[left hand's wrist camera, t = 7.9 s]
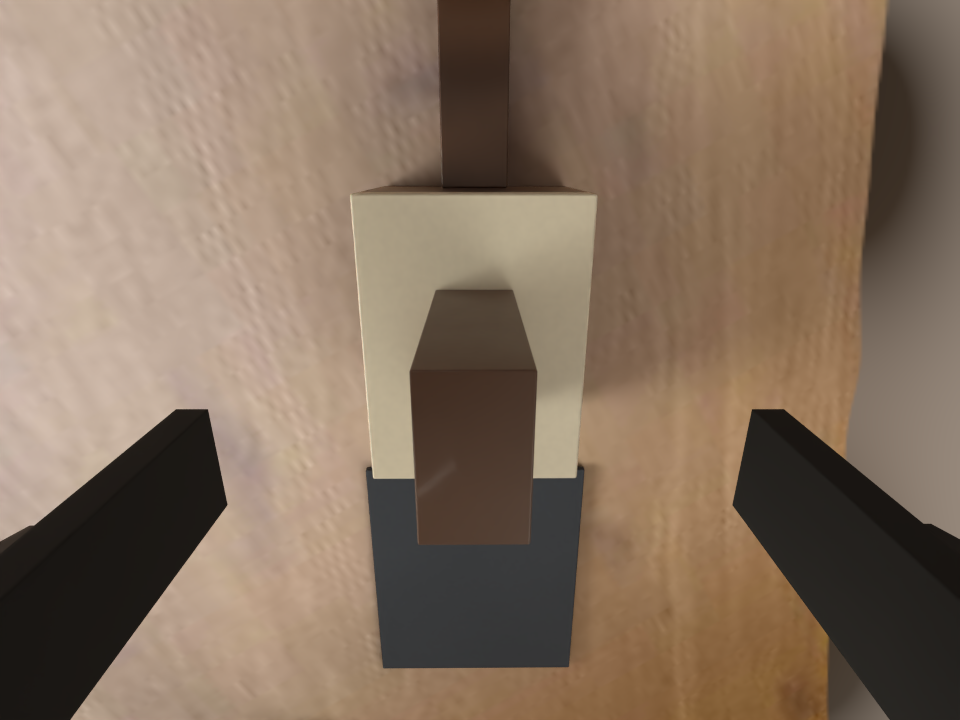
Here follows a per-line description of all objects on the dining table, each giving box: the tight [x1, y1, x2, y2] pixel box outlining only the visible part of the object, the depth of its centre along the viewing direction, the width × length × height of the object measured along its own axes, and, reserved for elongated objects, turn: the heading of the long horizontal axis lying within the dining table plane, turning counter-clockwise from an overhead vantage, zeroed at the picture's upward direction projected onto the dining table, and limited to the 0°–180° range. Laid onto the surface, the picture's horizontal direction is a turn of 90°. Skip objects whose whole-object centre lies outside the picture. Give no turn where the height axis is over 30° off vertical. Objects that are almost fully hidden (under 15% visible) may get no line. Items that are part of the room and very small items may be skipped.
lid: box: [350, 192, 598, 545], centre depth 18 cm, size 12×9×10 cm
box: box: [362, 0, 586, 192], centre depth 23 cm, size 24×9×7 cm, turn 0°
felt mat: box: [366, 467, 584, 668], centre depth 34 cm, size 16×13×1 cm
